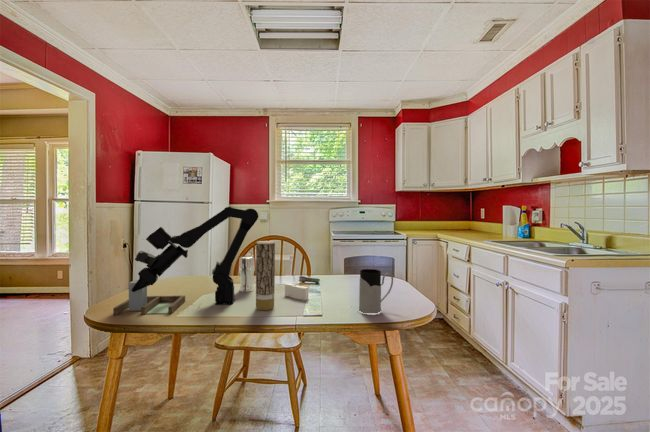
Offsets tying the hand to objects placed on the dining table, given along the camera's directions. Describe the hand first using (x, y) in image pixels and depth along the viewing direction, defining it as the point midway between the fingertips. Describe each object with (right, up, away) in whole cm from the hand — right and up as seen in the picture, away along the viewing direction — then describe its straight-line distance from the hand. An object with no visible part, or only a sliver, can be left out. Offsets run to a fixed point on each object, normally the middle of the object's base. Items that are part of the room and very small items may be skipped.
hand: (134, 289), depth 120 cm
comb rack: (+6, -7, +1) cm, 9 cm away
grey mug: (+89, -9, +2) cm, 89 cm away
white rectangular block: (+58, -8, +20) cm, 61 cm away
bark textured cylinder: (+47, -8, +3) cm, 48 cm away
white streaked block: (+34, -7, +30) cm, 46 cm away
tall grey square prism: (+1, -7, 0) cm, 7 cm away
